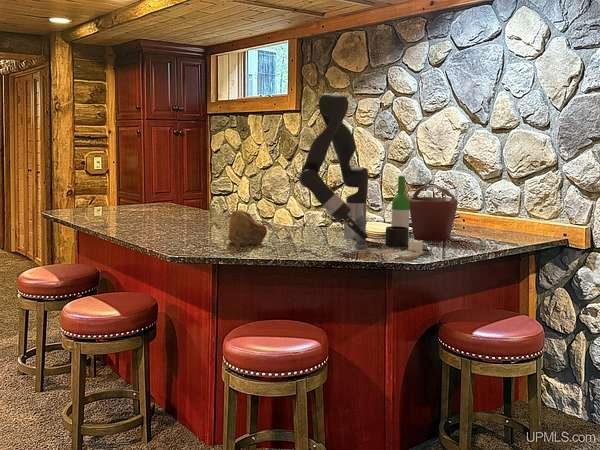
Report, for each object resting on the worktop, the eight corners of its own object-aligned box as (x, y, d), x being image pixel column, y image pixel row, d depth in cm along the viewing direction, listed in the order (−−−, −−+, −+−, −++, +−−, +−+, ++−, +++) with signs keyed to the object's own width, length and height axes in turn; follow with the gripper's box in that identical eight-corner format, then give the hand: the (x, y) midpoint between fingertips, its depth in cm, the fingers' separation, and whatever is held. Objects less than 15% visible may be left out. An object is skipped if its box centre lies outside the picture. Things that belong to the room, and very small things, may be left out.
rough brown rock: (263, 250, 274) (266, 215, 273) (224, 246, 275) (227, 211, 273) (267, 243, 297) (270, 210, 296) (231, 240, 298) (234, 207, 296)
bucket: (464, 241, 299) (466, 187, 296) (421, 243, 292) (423, 187, 289) (437, 234, 322) (439, 183, 319) (396, 235, 315) (398, 183, 312)
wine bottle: (394, 245, 286) (396, 176, 282) (388, 242, 294) (390, 175, 290) (411, 245, 288) (413, 176, 284) (404, 242, 295) (407, 175, 291)
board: (346, 253, 265) (346, 249, 265) (358, 249, 274) (358, 246, 274) (408, 260, 251) (408, 256, 250) (419, 256, 260) (419, 252, 260)
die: (408, 253, 266) (408, 241, 265) (410, 251, 271) (410, 239, 270) (420, 254, 264) (421, 241, 264) (422, 252, 269) (422, 240, 269)
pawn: (352, 247, 267) (352, 216, 265) (358, 245, 271) (358, 215, 269) (363, 248, 264) (364, 217, 262) (369, 247, 268) (370, 216, 266)
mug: (408, 246, 283) (408, 226, 282) (407, 251, 272) (408, 229, 271) (386, 245, 285) (386, 225, 284) (384, 250, 274) (385, 228, 272)
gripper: (343, 202, 258) (373, 234, 259) (343, 199, 272) (371, 228, 273) (329, 216, 259) (360, 247, 260) (330, 211, 273) (358, 241, 274)
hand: (365, 237), depth 267 cm, fingers closed on pawn, 3 cm apart
